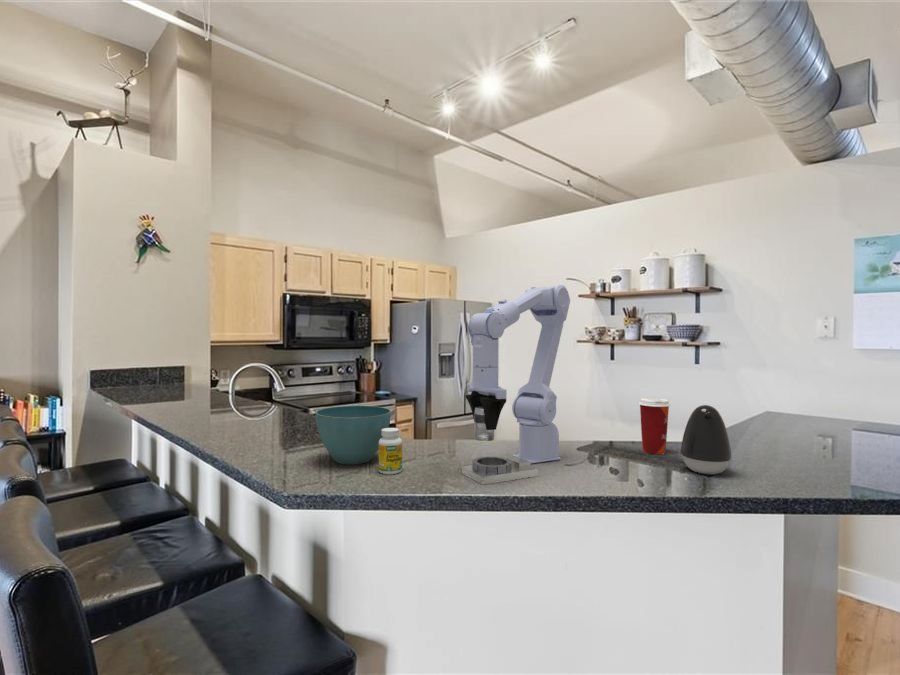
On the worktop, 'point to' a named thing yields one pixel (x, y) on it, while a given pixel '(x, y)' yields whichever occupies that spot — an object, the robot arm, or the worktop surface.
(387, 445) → the supplement bottle
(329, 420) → the teal bowl
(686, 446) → the black egg-shaped body
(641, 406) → the paper cup
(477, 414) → the lens
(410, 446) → the worktop surface
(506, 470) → the octagonal collar plate
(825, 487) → the worktop surface
